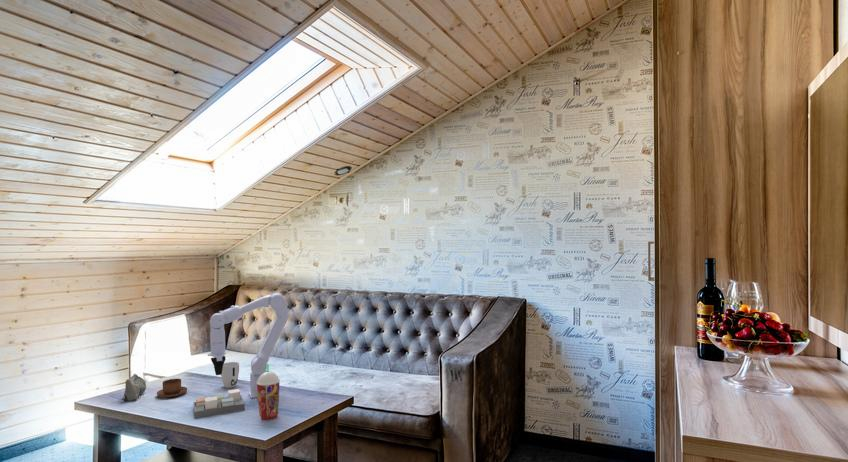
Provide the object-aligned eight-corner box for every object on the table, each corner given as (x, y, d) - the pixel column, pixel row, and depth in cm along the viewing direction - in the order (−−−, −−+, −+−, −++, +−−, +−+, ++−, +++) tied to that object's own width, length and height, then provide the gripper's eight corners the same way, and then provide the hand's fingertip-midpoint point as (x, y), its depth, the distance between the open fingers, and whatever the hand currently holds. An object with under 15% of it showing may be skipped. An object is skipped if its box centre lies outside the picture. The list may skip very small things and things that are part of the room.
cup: (233, 389, 228) (232, 366, 228) (216, 388, 229) (216, 366, 229) (243, 383, 236) (242, 362, 236) (227, 383, 237) (226, 361, 237)
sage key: (223, 403, 207) (223, 394, 207) (224, 406, 203) (224, 397, 203) (212, 405, 205) (212, 396, 205) (213, 408, 201) (212, 399, 201)
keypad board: (241, 400, 211) (240, 394, 211) (244, 409, 200) (244, 403, 200) (193, 408, 203) (193, 402, 203) (194, 418, 192) (194, 411, 192)
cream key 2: (239, 397, 210) (238, 388, 210) (240, 400, 206) (240, 391, 206) (228, 399, 208) (228, 390, 208) (229, 402, 204) (229, 393, 204)
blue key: (232, 406, 203) (232, 397, 203) (234, 409, 199) (233, 400, 199) (221, 408, 201) (221, 399, 201) (222, 411, 197) (222, 402, 197)
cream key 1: (216, 405, 200) (216, 396, 200) (217, 408, 197) (217, 399, 197) (205, 407, 198) (204, 398, 199) (205, 410, 195) (205, 401, 195)
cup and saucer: (157, 393, 225) (157, 379, 225) (187, 389, 230) (187, 375, 230) (155, 401, 214) (155, 386, 214) (187, 396, 219) (187, 382, 219)
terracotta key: (207, 405, 204) (207, 396, 204) (208, 409, 201) (207, 399, 201) (196, 407, 203) (195, 398, 203) (196, 410, 199) (196, 401, 199)
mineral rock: (142, 390, 229) (142, 368, 229) (158, 393, 225) (158, 370, 225) (114, 399, 217) (114, 375, 218) (131, 402, 213) (130, 378, 213)
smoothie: (280, 420, 188) (279, 366, 188) (257, 423, 185) (255, 368, 186) (280, 412, 196) (279, 360, 196) (257, 415, 193) (256, 362, 194)
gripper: (206, 340, 218) (207, 371, 218) (208, 346, 205) (209, 380, 205) (224, 338, 222) (224, 369, 222) (227, 344, 209) (227, 377, 209)
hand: (218, 374), depth 214 cm, fingers closed
